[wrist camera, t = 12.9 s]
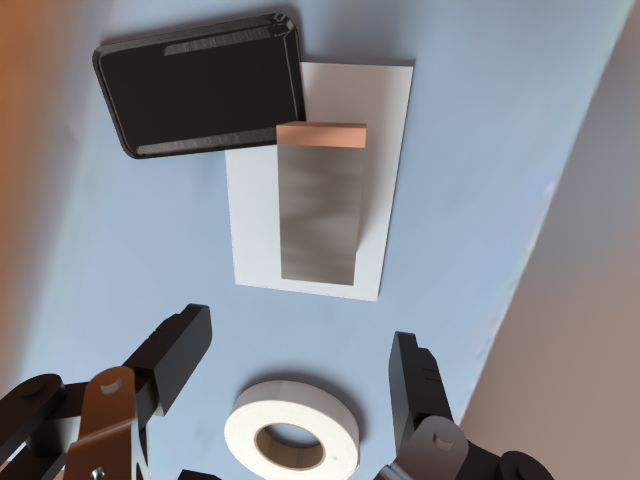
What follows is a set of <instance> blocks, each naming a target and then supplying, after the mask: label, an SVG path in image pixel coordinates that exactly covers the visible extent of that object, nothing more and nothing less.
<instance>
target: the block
mask: <svg viewBox="0 0 640 480" xmlns="http://www.w3.org/2000/svg"><path fill="white" fill-rule="evenodd" d="M276 128H277V159H278V189H279V220H280V251H281V279H288V280H298V281H308V282H319V283H329V284H339V285H349V286H354V274H355V262H356V249H357V237H358V225H359V213H360V201H361V189H362V177H363V165H364V153H365V141H366V129H367V124H362V123H333V122H301V121H294V122H290V123H285V124H280V125H276Z"/></svg>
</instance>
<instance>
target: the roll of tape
mask: <svg viewBox="0 0 640 480" xmlns="http://www.w3.org/2000/svg"><path fill="white" fill-rule="evenodd" d="M273 424H287V425H293V426H296V427H299V428H302V429H304V430H306V431H308V432H309V433H311V434H312V435H313V436H315V438H317V439H318V441H319V442H320V444H318V445H316V446H314V447H310V448H293V447H289V446H286V445H283V444H281V443H279V442H277V441H276V440H274V439H273V438H272V437H271V436H270V435H269V434H268V433H267V432H266V430H265V428H264V427H266V426H269V425H273ZM224 435H225V439H226V442H227V445H228V447H229V449H230V450H231V452H232V453H233V455H234V456H235V457H236V458H237V459H238V461H240V462H241V463H242V464H243V465H244V466H245V467H247V468H248V469H249V470H251V471H252V472H254V473H256V474H257V475H259V476H261V477H263V478H265V479H267V480H346V479H347V478H348V477H349V476H351V475H352V474H353V473H354V472H355V470H356V469H357V468H358V467H359V465H360V443H359V430H358V425H357V423H356V420H355V418H354V417H353V415H352V413H351V412H350V411H349V410H348V408H347V407H346V406H345V405H344V404H343V403H342V402H340V401H339V400H338V399H337V398H335V397H334V396H332V395H331V394H329V393H327V392H325V391H323V390H321V389H319V388H317V387H314V386H311V385H308V384H305V383H300V382H295V381H283V380H278V381H268V382H262V383H259V384H256V385H253V386H251V387H249V388H248V389H246V390H245V391H244V392H242V393H241V394H240V395H239V397H238V398H237V400H236V401H235V403H234V406H233V408H232V410H231V412H230V414H229V417H228V419H227V421H226V424H225V428H224Z"/></svg>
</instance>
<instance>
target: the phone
mask: <svg viewBox="0 0 640 480" xmlns="http://www.w3.org/2000/svg"><path fill="white" fill-rule="evenodd" d="M92 62H93V67H94V70H95V72H96V75H97V78H98V81H99V84H100V87H101V89H102V92H103V95H104V98H105V101H106V104H107V106H108V109H109V112H110V115H111V118H112V120H113V123H114V126H115V129H116V132H117V135H118V137H119V140H120V143H121V146H122V148H123V150H124V151H125V153H126V154H127V155H129V156H130V157H131V158H134V159H148V158H157V157H166V156H176V155H185V154H195V153H204V152H214V151H223V150H232V149H242V148H251V147H261V146H270V145H277V128H276V125H280V124H285V123H290V122H294V121H301V122H307V118H306V110H305V102H304V93H303V85H302V77H301V69H300V62H301V56H300V47H299V39H298V33H297V29H296V27H295V25H294V24H293V22H292V21H291V20H290V19H289V18H288V17H287V16H285V15H283V14H280V13H274V14H269V15H263V16H258V17H253V18H247V19H242V20H237V21H231V22H225V23H220V24H215V25H210V26H205V27H200V28H194V29H189V30H184V31H178V32H173V33H168V34H162V35H157V36H152V37H146V38H141V39H136V40H130V41H125V42H120V43H114V44H109V45H104V46H100V47H98V48H96V50H95V51H94V53H93V56H92Z"/></svg>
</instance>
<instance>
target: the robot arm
mask: <svg viewBox="0 0 640 480" xmlns="http://www.w3.org/2000/svg"><path fill="white" fill-rule="evenodd" d="M211 340H212V326H211V317H210V309H209V307H208V306H207V305H200V304H192V303H190V304H188V305H187V306H186V308H185V309H184V310H183V311H182V312H181V313H180V314H174V315H172V316H171V317H169V318H167V319H166V320H164V321H163V322H162V323H161V324H160V325H159V326H158V327H157V328H156V331H154V332H153V333H152V334H151V335H150V336H149V338H148V339H146V340H145V341H144V342H143V343H142V344H141V346H140V347H139V348H138V349H137V350H136V351H135V352H134V353H133V354H132V355H131V356H130V357H129V358H128V359H127V360H126V361H125V363H124V364H123V365H122V366H118V367H113V368H109V369H107V370H105V371H102V372H101V373H99V374H98V375H96V376H95V377H94V378H92V379H91V381H90V382H82V383H74V384H66V385H64V384H63V381H62V379H61V377H60V376H59V375H57V374H43V375H39V376H36V377H33V378H30V379H28V380H26V381H24V382H23V383H21V384H19V385H18V386H17V387H15V388H14V389H13V390H12V391H10V392H9V393H8V394H7V395H6V396H5V397H3V398H2V399H1V400H0V466H1V465H2V464H3V463H4V462H5V461H6V460H7V459H8V458H9V457H10V456H11V455H12V454H13V453H14V452H15V451H16V450H17V449H18V447H19V446H20V445H21V444H22V443H23V442H24V441H25V443H26V446H25V447H24V448H23V449H22V450H21V451H20V452H19V453H18V454H17V455H16V456H15V457H14V458H13V459H12V460H11V462H10V463H9V464H8V465H7V466H6V467H5V468H4V469H3V470H2V471H1V472H0V480H53V479H54V478H55V477H56V475H57V474H58V473H59V471H60V470H61V469H62V468H63V466H64V465H65V469H64V475H63V480H151V471H150V453H149V436H148V425H147V422H148V421H149V419H150V418H151V416H152V415H157V416H163V417H164V416H165V415H166V413H167V412H168V410H169V408H170V407H171V405H172V404H173V402H174V401H175V399H176V398H177V396H178V394H179V393H180V391H181V390H182V388H183V387H184V385H185V384H186V382H187V381H188V379H189V377H190V376H191V374H192V373H193V371H194V370H195V368H196V367H197V365H198V363H199V362H200V360H201V359H202V357H203V356H204V354H205V353H206V351H207V350H208V348H209V346H210V343H211ZM389 383H390V394H391V404H392V415H393V425H394V435H395V446H396V456H397V457H396V458H395V460H394V461H393V463H392V464H391V465H390V466H389V465H385V466H384V467H383V468H382V469H381V470H380V471H379V473H378V474H377V475H376V477H375V478H374V479H373V480H554V479H553V477H552V476H551V474H550V473H549V472H548V470H547V469H546V468H545V467H544V466H543V465H542V464H541V463H539V462H538V461H537V460H535V459H534V458H532V457H531V456H529V455H527V454H525V453H522V452H519V451H508V452H506V453H504V454H503V455H502V457H499V456H497V455H495V454H493V453H491V452H488V451H486V450H484V449H482V448H480V447H478V446H476V445H474V444H473V443H471V442H470V441H469V440H468V439H467V438H466V436H465V434H464V433H463V431H462V430H461V429H460V428H459V427H458V426H457V425H456V424H455V423H454V421H453V418H452V414H451V411H450V407H449V404H448V400H447V397H446V393H445V390H444V386H443V383H442V380H441V376H440V373H439V369H438V366H437V362H436V359H435V358H434V357H433V355H432V354H431V353H430V351H429V350H428V349H426V348H419V347H418V345H417V341H416V337H415V334H413V333H405V332H398V331H396V332H395V335H394V339H393V344H392V349H391V354H390V359H389ZM178 480H222V479H220V478H218V477H216V476H215V475H210V474H205V473H200V472H195V471H189V470H184V469H183V470H182V472H181V474H180V476H179V478H178Z"/></svg>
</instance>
